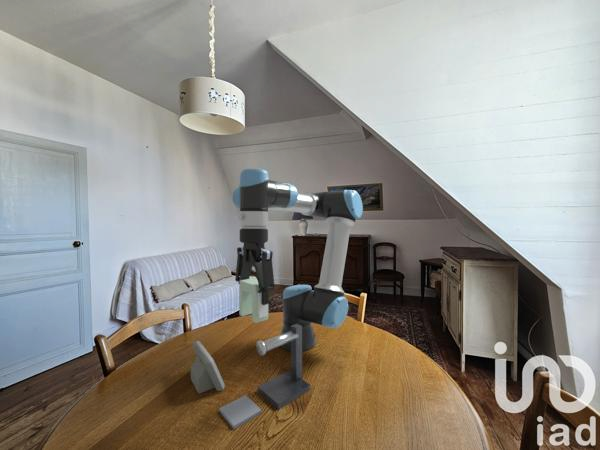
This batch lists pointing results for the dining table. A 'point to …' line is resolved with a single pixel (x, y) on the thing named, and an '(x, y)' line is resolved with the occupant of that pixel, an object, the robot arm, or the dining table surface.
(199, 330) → the dining table surface
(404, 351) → the dining table surface
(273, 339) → the stand
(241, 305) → the bracket
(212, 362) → the digital clock
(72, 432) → the dining table surface
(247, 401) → the coaster
